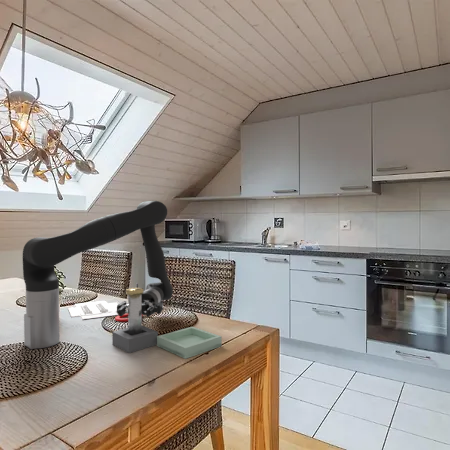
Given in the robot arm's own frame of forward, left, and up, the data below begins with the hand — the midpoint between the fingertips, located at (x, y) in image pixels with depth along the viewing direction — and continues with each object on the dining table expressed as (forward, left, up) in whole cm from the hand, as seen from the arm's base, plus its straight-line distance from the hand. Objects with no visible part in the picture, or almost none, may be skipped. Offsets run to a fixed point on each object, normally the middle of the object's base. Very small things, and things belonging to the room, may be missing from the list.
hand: (133, 313), depth 111 cm
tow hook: (+14, +28, -10) cm, 33 cm away
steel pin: (+1, +1, -10) cm, 10 cm away
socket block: (+1, +1, -10) cm, 10 cm away
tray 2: (+11, +50, -11) cm, 52 cm away
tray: (+12, -12, -10) cm, 20 cm away
